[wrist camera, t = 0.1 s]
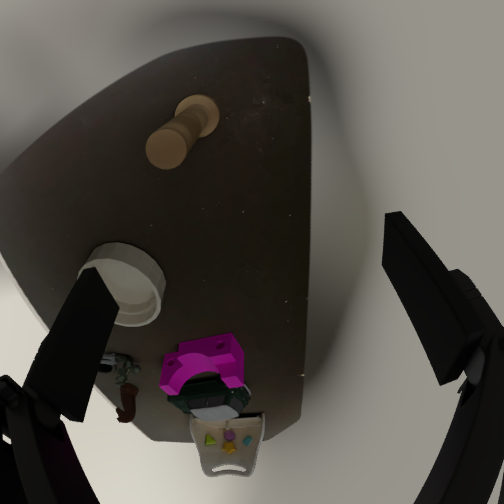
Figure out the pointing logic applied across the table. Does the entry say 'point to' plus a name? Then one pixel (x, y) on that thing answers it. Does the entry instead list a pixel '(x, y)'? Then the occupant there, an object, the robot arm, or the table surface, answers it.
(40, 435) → the robot arm
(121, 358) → the zombie figurine
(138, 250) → the bowl
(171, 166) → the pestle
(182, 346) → the toy block
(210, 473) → the shape sorter
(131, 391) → the chess piece
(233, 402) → the miniature car
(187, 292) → the table surface
